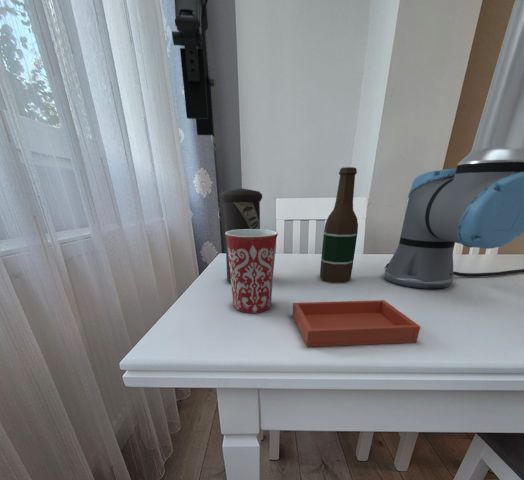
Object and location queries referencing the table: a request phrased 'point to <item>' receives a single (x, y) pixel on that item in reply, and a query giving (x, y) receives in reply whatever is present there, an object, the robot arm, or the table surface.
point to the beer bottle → (340, 232)
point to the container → (240, 213)
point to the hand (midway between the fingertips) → (202, 128)
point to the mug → (251, 268)
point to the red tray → (353, 323)
